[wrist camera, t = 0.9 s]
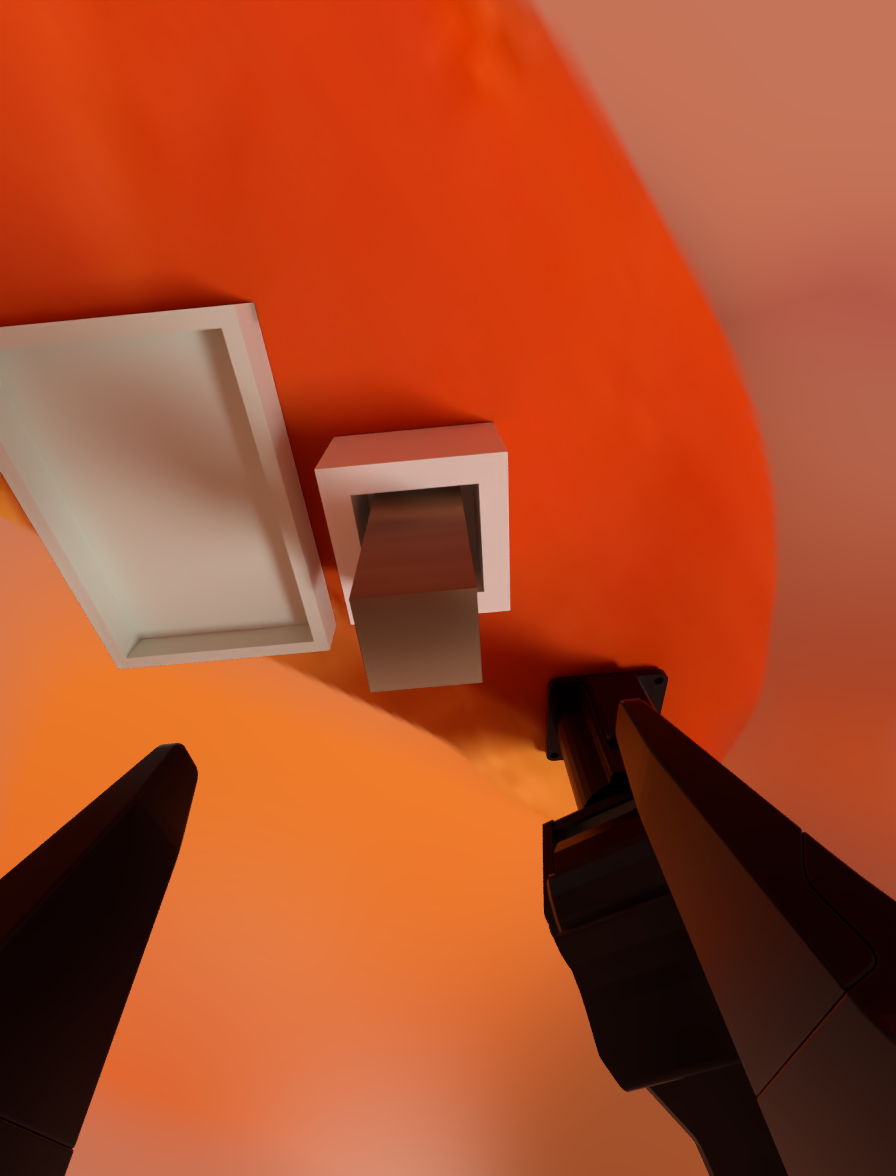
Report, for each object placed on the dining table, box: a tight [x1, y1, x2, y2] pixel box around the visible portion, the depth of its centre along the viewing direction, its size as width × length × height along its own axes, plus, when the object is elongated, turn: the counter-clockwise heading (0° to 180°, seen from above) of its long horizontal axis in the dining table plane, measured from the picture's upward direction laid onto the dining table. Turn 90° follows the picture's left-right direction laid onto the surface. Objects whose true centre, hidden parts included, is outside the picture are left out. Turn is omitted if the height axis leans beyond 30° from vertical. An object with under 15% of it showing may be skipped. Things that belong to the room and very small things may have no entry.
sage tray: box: [0, 302, 336, 669], centre depth 20 cm, size 14×10×2 cm
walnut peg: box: [349, 485, 482, 692], centre depth 17 cm, size 3×3×9 cm
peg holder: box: [314, 422, 510, 625], centre depth 19 cm, size 6×6×4 cm
